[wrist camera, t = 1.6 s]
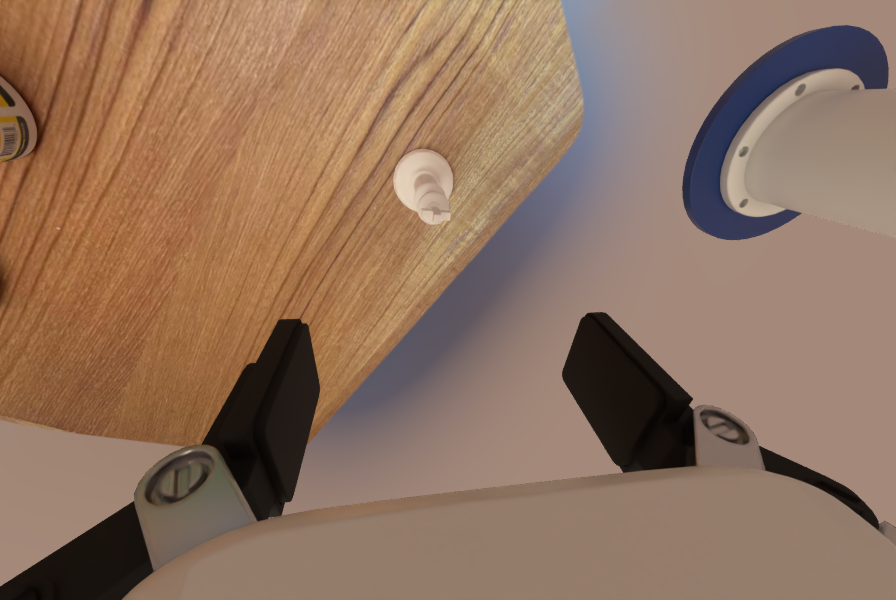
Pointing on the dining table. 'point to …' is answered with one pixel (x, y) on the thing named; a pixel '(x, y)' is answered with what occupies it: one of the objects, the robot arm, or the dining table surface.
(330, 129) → the dining table surface
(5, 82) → the pill bottle
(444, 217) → the chess piece
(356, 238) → the dining table surface
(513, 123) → the dining table surface
